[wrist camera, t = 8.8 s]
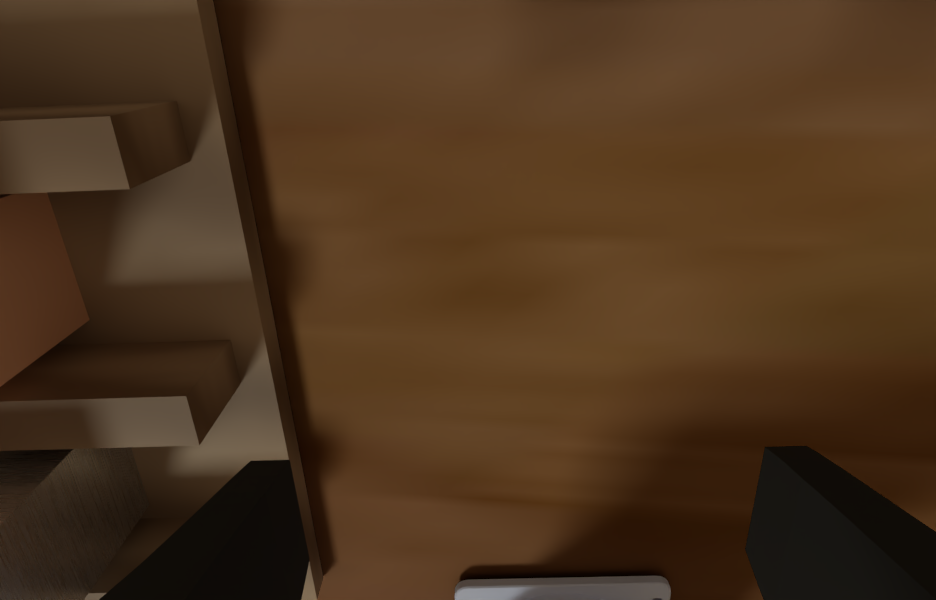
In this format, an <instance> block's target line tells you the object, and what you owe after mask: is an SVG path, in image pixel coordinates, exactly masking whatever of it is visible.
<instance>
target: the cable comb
mask: <svg viewBox="0 0 936 600" xmlns="http://www.w3.org/2000/svg"><path fill="white" fill-rule="evenodd" d="M46 192H47V194H48V197H49V200H50V203H51V206H52V209H53V212H54V215H55V218H56V221H57V224H58V227H59V230H60V233H61V236H62V239H63V242H64V245H65V248H66V251H67V254H68V257H69V260H70V263H71V266H72V269H73V272H74V275H75V278H76V281H77V284H78V287H79V290H80V293H81V296H82V299H83V302H84V304H85V307H86V310H87V313H88V316H89V319H90V320H89V321H87V322H86V323H85V324H83V325H82V326H81V327H79V328H78V329H77V330H75V331H74V332H73V333H71V334H70V335H69V336H67V337H66V338H65V339H63V340H62V341H61V342H59V343H58V344H57V345H55V346H54V347H53V348H51V349H50V350H49V351H47V352H46V353H45V354H43V355H42V356H41V357H39V358H38V359H37V360H35V361H34V362H33V363H31V364H30V365H29V366H27V367H26V368H25V369H23V370H22V371H21V372H19V373H18V374H17V375H15V376H14V377H13V378H11V379H10V380H9V381H7V382H6V383H5V384H3V385H2V386H1V387H0V451H16V450H53V449H89V448H125V447H131V449H132V452H133V455H134V458H135V461H136V464H137V468H138V471H139V474H140V477H141V480H142V483H143V486H144V489H145V492H146V495H147V498H148V501H149V504H150V505H149V506H148V508H147V509H146V510H145V512H144V513H143V515H142V516H141V518H140V519H139V521H138V522H137V524H136V525H135V526H134V528H133V529H132V531H131V532H130V534H129V535H128V537H127V538H126V539H125V541H124V542H123V544H122V545H121V547H120V548H119V550H118V551H117V553H116V554H115V555H114V557H113V558H112V560H111V561H110V563H109V564H108V566H107V567H106V569H105V570H104V571H103V573H102V574H101V576H100V577H99V579H98V580H97V582H96V583H95V585H94V586H93V587H92V589H91V590H90V592H89V593H88V595H87V596H86V598H85V599H84V600H99V599H100V598H101V597H103V596H104V595H105V594H106V593H107V592H108V591H110V590H111V589H112V588H113V587H114V586H115V585H117V584H118V583H119V582H120V581H121V580H122V579H124V578H125V577H126V576H127V575H128V574H129V573H131V572H132V571H133V570H134V569H135V568H136V567H137V566H139V565H140V564H141V563H142V562H143V561H144V560H145V559H146V558H147V557H148V556H150V555H151V554H152V553H153V552H154V551H155V550H156V549H157V548H158V547H159V546H160V545H161V544H163V543H164V542H165V541H166V540H167V539H168V538H169V537H170V536H171V535H172V534H173V533H174V532H175V531H177V530H178V529H179V528H180V527H181V526H182V525H183V524H184V523H185V522H186V521H187V520H188V519H189V518H190V517H192V516H193V515H194V514H195V513H196V512H197V511H198V510H199V509H200V508H201V507H202V506H203V505H204V504H205V503H206V502H207V501H208V500H209V499H210V498H211V497H212V496H214V495H215V494H216V493H217V492H218V491H219V490H220V489H221V488H222V487H223V486H224V485H225V484H226V483H227V482H228V481H229V480H230V479H231V478H232V477H233V476H235V475H236V474H237V473H238V472H239V471H240V470H241V469H242V468H243V467H244V466H245V465H247V464H248V463H249V462H250V461H261V460H290V463H291V468H292V473H293V478H294V483H295V488H296V493H297V498H298V503H299V508H300V513H301V518H302V523H303V528H304V533H305V538H306V543H307V548H308V553H309V558H310V560H309V565H308V570H307V575H306V580H305V585H304V590H303V595H302V599H301V600H317V598H318V595H319V591H320V587H321V584H322V580H323V573H322V568H321V563H320V557H319V552H318V547H317V542H316V536H315V531H314V526H313V521H312V515H311V510H310V505H309V500H308V494H307V489H306V484H305V479H304V473H303V468H302V463H301V458H300V453H299V447H298V442H297V437H296V432H295V426H294V421H293V416H292V411H291V405H290V400H289V395H288V390H287V384H286V379H285V374H284V369H283V363H282V358H281V353H280V348H279V343H278V337H277V332H276V327H275V322H274V316H273V311H272V306H271V301H270V295H269V290H268V285H267V280H266V274H265V269H264V264H263V259H262V254H261V248H260V243H259V238H258V233H257V227H256V222H255V217H254V212H253V206H252V201H251V196H250V191H249V185H248V180H247V175H246V170H245V164H244V159H243V154H242V149H241V144H240V138H239V133H238V128H237V123H236V117H235V112H234V107H233V102H232V96H231V91H230V86H229V81H228V75H227V70H226V65H225V60H224V54H223V49H222V44H221V39H220V34H219V28H218V23H217V18H216V13H215V7H214V2H213V0H0V194H20V193H46Z"/></svg>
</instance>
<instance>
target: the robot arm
mask: <svg viewBox="0 0 936 600" xmlns="http://www.w3.org/2000/svg"><path fill="white" fill-rule="evenodd" d="M745 550H746V553H747V555H748V558H749V561H750V564H751V566H752V569H753V572H754V575H755V578H756V580H757V583H758V586H759V589H760V591H761V594H762V596H763V599H764V600H936V532H935V531H934V530H932V529H931V528H929V527H928V526H926V525H925V524H923V523H922V522H920V521H919V520H917V519H916V518H914V517H913V516H911V515H910V514H908V513H907V512H905V511H904V510H902V509H901V508H899V507H898V506H896V505H895V504H894V503H892V502H891V501H889V500H888V499H886V498H885V497H883V496H882V495H880V494H879V493H877V492H876V491H874V490H873V489H872V488H870V487H869V486H867V485H866V484H864V483H863V482H861V481H860V480H858V479H857V478H855V477H854V476H852V475H851V474H849V473H848V472H846V471H845V470H843V469H842V468H840V467H839V466H837V465H836V464H834V463H833V462H831V461H830V460H828V459H827V458H825V457H824V456H822V455H820V454H819V453H817V452H816V451H814V450H812V449H811V448H809V447H807V446H785V447H765V450H764V455H763V460H762V465H761V471H760V476H759V481H758V486H757V491H756V497H755V502H754V507H753V512H752V517H751V522H750V528H749V533H748V538H747V543H746V548H745ZM309 560H310V558H309V553H308V548H307V543H306V538H305V533H304V528H303V523H302V518H301V513H300V508H299V503H298V498H297V493H296V488H295V483H294V478H293V473H292V468H291V463H290V460H261V461H250V462H249V463H248V464H247V465H245V466H244V467H243V468H242V469H241V470H240V471H239V472H238V473H237V474H236V475H235V476H233V477H232V478H231V479H230V480H229V481H228V482H227V483H226V484H225V485H224V486H223V487H222V488H221V489H220V490H219V491H218V492H217V493H216V494H215V495H214V496H212V497H211V498H210V499H209V500H208V501H207V502H206V503H205V504H204V505H203V506H202V507H201V508H200V509H199V510H198V511H197V512H196V513H195V514H194V515H193V516H192V517H190V518H189V519H188V520H187V521H186V522H185V523H184V524H183V525H182V526H181V527H180V528H179V529H178V530H177V531H175V532H174V533H173V534H172V535H171V536H170V537H169V538H168V539H167V540H166V541H165V542H164V543H163V544H161V545H160V546H159V547H158V548H157V549H156V550H155V551H154V552H153V553H152V554H151V555H150V556H148V557H147V558H146V559H145V560H144V561H143V562H142V563H141V564H140V565H139V566H137V567H136V568H135V569H134V570H133V571H132V572H131V573H129V574H128V575H127V576H126V577H125V578H124V579H122V580H121V581H120V582H119V583H118V584H117V585H115V586H114V587H113V588H112V589H111V590H110V591H108V592H107V593H106V594H105V595H104V596H103V597H101V598H100V599H99V600H301V599H302V595H303V590H304V585H305V580H306V575H307V570H308V565H309ZM670 596H671V588H670V585H669V582H668V581H667V579H666V578H664V577H662V576H612V577H564V578H517V579H470V580H463V581H461V582H459V583H458V584H457V585H456V588H455V600H670ZM654 598H655V599H654Z"/></svg>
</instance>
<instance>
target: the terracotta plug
mask: <svg viewBox="0 0 936 600" xmlns="http://www.w3.org/2000/svg"><path fill="white" fill-rule="evenodd" d="M89 320H90V319H89V316H88V313H87V310H86V307H85V304H84V302H83V299H82V296H81V293H80V290H79V287H78V284H77V281H76V278H75V275H74V272H73V269H72V266H71V263H70V260H69V257H68V254H67V251H66V248H65V245H64V242H63V239H62V236H61V233H60V230H59V227H58V224H57V221H56V218H55V215H54V212H53V209H52V206H51V203H50V200H49V197H48V194H47V192H46V193H20V194H0V387H1V386H2V385H3V384H5V383H6V382H7V381H9V380H10V379H11V378H13V377H14V376H15V375H17V374H18V373H19V372H21V371H22V370H23V369H25V368H26V367H27V366H29V365H30V364H31V363H33V362H34V361H35V360H37V359H38V358H39V357H41V356H42V355H43V354H45V353H46V352H47V351H49V350H50V349H51V348H53V347H54V346H55V345H57V344H58V343H59V342H61V341H62V340H63V339H65V338H66V337H67V336H69V335H70V334H71V333H73V332H74V331H75V330H77V329H78V328H79V327H81V326H82V325H83V324H85V323H86V322H87V321H89Z"/></svg>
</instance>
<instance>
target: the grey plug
mask: <svg viewBox="0 0 936 600" xmlns="http://www.w3.org/2000/svg"><path fill="white" fill-rule="evenodd" d="M149 505H150V504H149V501H148V498H147V495H146V492H145V489H144V486H143V483H142V480H141V477H140V474H139V471H138V468H137V464H136V461H135V458H134V455H133V452H132V449H131V447H125V448H89V449H53V450H16V451H0V600H84V599H85V598H86V596H87V595H88V593H89V592H90V590H91V589H92V587H93V586H94V585H95V583H96V582H97V580H98V579H99V577H100V576H101V574H102V573H103V571H104V570H105V569H106V567H107V566H108V564H109V563H110V561H111V560H112V558H113V557H114V555H115V554H116V553H117V551H118V550H119V548H120V547H121V545H122V544H123V542H124V541H125V539H126V538H127V537H128V535H129V534H130V532H131V531H132V529H133V528H134V526H135V525H136V524H137V522H138V521H139V519H140V518H141V516H142V515H143V513H144V512H145V510H146V509H147V508H148V506H149Z"/></svg>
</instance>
